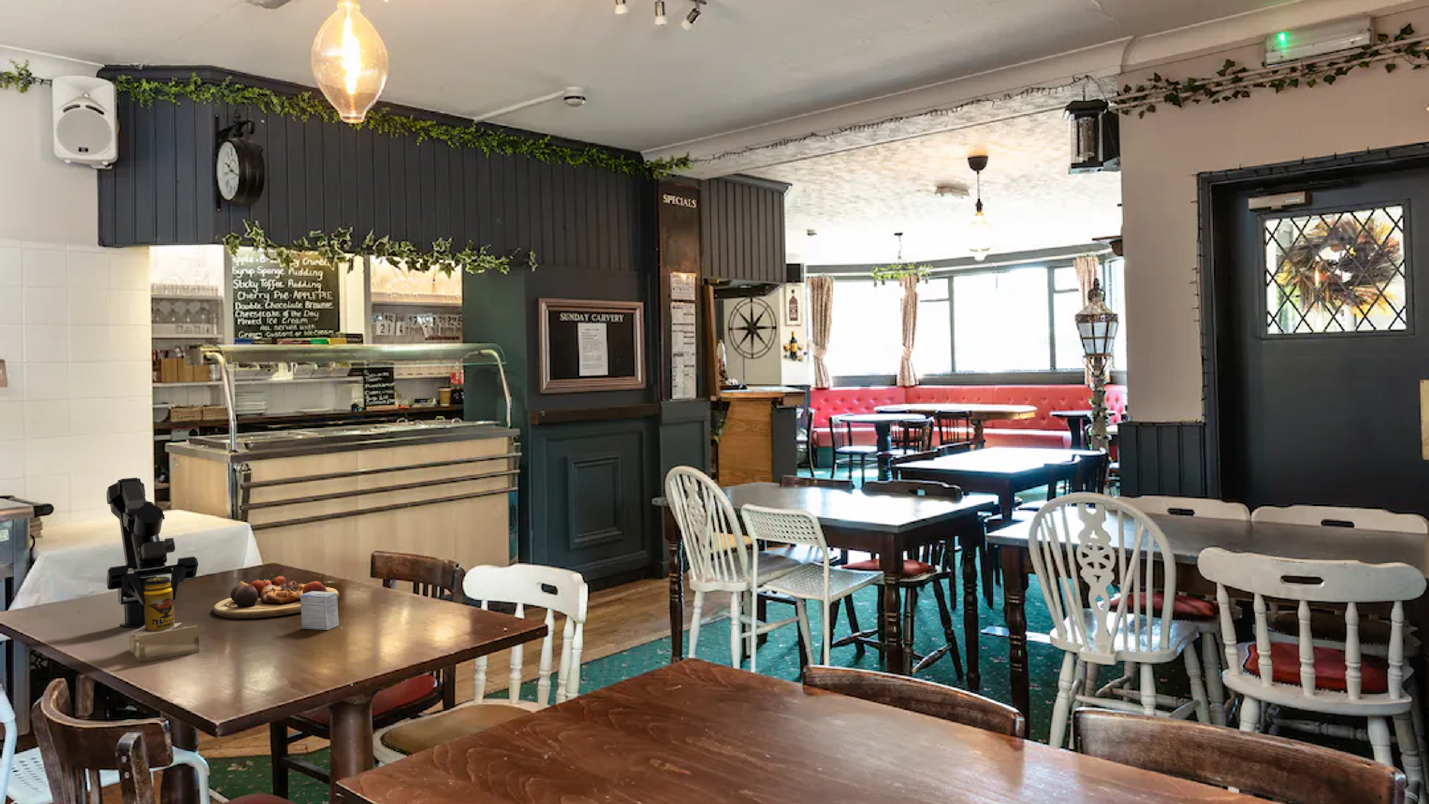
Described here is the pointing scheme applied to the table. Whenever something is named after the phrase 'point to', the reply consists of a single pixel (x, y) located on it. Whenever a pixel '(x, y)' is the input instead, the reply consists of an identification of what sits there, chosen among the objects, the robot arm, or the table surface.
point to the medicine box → (319, 610)
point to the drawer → (165, 644)
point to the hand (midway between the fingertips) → (159, 601)
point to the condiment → (158, 606)
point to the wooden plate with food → (266, 598)
